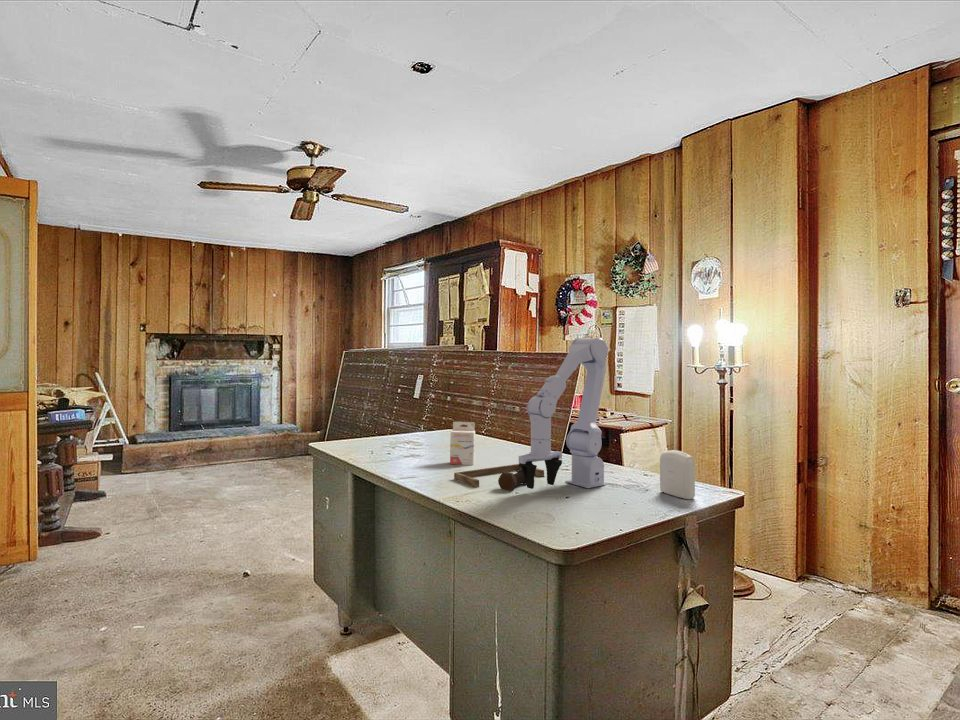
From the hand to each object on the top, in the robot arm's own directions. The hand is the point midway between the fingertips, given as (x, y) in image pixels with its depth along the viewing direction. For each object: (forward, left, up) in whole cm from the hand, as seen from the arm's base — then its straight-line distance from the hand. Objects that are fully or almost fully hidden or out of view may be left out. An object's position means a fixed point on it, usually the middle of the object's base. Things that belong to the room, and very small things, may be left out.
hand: (540, 486), depth 151 cm
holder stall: (+20, 0, -1) cm, 20 cm away
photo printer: (-24, -29, -2) cm, 38 cm away
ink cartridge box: (+45, -2, -2) cm, 45 cm away
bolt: (+9, +1, -2) cm, 9 cm away
